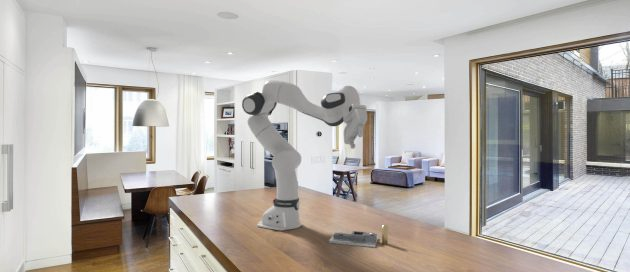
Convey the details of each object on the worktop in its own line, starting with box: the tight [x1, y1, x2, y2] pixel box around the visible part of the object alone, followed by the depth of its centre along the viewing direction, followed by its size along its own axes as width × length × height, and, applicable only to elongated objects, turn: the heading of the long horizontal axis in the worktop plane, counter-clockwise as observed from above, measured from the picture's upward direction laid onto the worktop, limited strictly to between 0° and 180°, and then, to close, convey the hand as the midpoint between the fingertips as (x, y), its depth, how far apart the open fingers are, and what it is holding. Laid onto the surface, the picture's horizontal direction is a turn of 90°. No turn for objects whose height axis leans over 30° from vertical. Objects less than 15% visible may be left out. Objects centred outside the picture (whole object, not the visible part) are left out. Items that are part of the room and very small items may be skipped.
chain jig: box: [328, 230, 379, 248], centre depth 150 cm, size 20×12×4 cm, turn 73°
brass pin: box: [381, 224, 389, 246], centre depth 146 cm, size 2×2×8 cm
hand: (356, 142), depth 145 cm, fingers open, 8 cm apart
